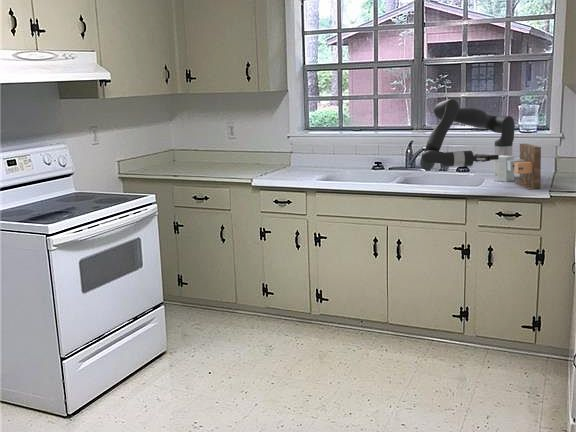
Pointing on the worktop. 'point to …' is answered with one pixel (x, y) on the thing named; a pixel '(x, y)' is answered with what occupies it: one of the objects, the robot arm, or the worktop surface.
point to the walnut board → (534, 156)
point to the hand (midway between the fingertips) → (498, 157)
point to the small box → (503, 169)
